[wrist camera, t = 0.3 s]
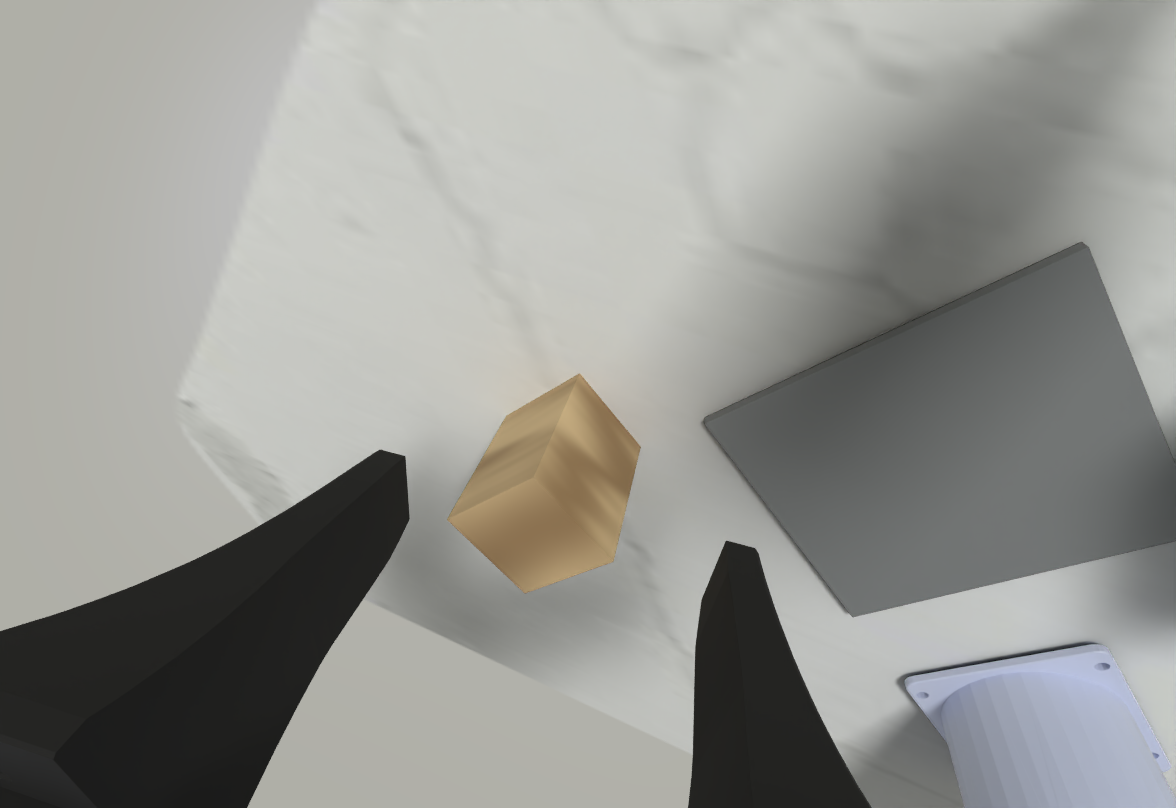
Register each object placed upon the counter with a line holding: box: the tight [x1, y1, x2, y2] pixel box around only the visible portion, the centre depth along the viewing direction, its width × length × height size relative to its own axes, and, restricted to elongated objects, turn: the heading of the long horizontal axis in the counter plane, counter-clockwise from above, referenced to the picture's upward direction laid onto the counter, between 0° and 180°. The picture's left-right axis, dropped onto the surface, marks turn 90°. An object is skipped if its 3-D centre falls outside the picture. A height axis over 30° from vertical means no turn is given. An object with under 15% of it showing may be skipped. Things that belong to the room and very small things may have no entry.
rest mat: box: [704, 242, 1176, 617], centre depth 21 cm, size 12×12×1 cm
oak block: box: [447, 374, 641, 593], centre depth 22 cm, size 4×4×6 cm
